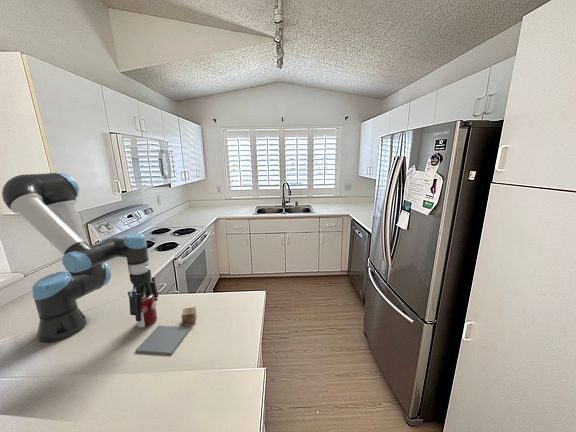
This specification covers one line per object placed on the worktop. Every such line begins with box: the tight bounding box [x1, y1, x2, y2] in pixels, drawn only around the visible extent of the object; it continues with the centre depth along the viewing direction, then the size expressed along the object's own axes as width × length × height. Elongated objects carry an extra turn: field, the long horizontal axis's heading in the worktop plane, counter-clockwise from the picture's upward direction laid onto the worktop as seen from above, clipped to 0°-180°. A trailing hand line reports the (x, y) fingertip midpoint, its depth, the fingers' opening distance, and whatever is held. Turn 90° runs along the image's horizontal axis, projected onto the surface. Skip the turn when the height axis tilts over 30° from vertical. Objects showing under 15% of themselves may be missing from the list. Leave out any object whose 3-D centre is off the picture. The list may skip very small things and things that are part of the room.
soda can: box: [141, 293, 158, 327], centre depth 107 cm, size 7×7×12 cm
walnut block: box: [181, 306, 197, 327], centre depth 108 cm, size 5×5×5 cm
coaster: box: [134, 325, 192, 356], centre depth 97 cm, size 14×14×1 cm
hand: (147, 320), depth 109 cm, fingers closed on soda can, 7 cm apart
